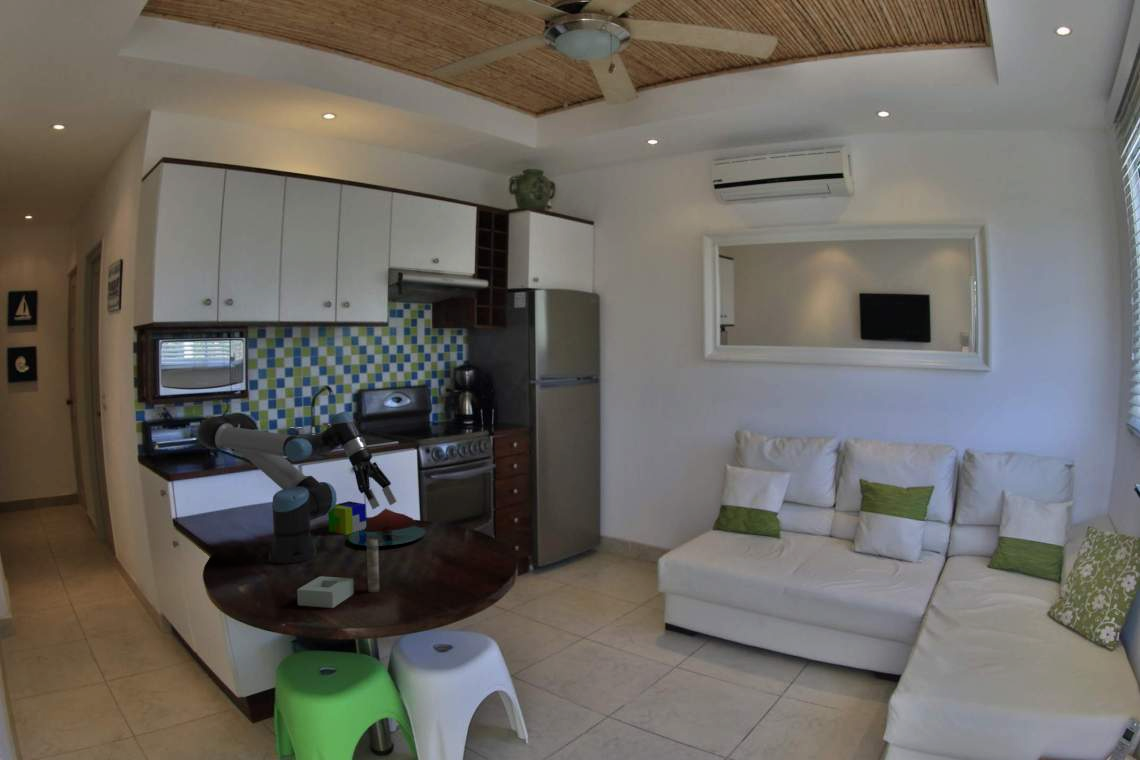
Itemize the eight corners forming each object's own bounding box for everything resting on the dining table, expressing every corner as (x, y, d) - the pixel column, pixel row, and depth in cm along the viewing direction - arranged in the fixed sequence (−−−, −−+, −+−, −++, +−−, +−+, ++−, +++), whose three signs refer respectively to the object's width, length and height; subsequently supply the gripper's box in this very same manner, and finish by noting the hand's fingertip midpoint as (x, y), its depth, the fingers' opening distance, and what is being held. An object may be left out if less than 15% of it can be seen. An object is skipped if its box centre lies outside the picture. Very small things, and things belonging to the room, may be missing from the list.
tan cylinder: (365, 592, 200) (364, 542, 199) (371, 588, 203) (370, 538, 202) (376, 592, 199) (374, 542, 198) (381, 588, 202) (380, 539, 201)
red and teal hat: (352, 554, 236) (351, 523, 236) (345, 534, 262) (344, 506, 261) (432, 544, 247) (431, 513, 247) (417, 525, 273) (416, 498, 272)
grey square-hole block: (297, 605, 190) (297, 589, 190) (320, 591, 201) (319, 576, 201) (332, 608, 188) (332, 592, 188) (353, 593, 199) (353, 578, 198)
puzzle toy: (366, 528, 270) (365, 504, 269) (345, 535, 261) (345, 509, 261) (349, 525, 275) (348, 501, 275) (329, 531, 267) (328, 506, 266)
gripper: (349, 448, 227) (378, 503, 224) (382, 446, 252) (408, 496, 249) (331, 459, 228) (359, 514, 225) (365, 456, 253) (391, 506, 249)
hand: (385, 505), depth 237 cm, fingers open, 13 cm apart
